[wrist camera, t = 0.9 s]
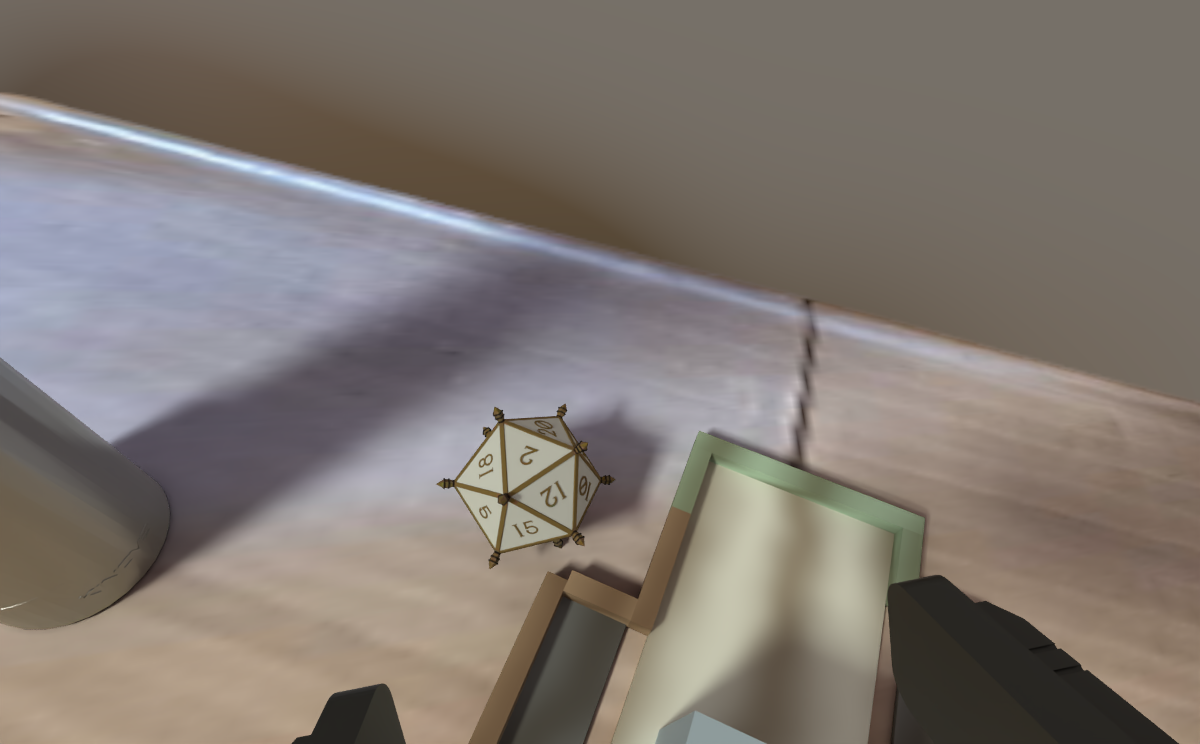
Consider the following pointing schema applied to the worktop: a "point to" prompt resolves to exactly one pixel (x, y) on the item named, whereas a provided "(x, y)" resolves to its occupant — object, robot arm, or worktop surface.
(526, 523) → the game die
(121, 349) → the worktop surface
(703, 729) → the brick
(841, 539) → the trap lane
